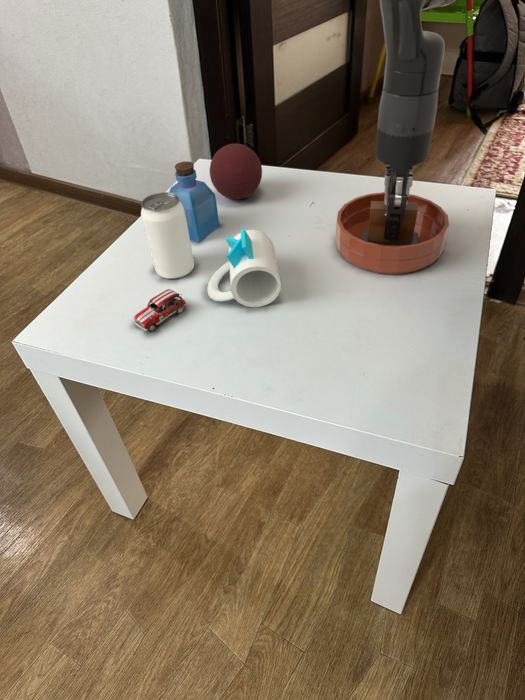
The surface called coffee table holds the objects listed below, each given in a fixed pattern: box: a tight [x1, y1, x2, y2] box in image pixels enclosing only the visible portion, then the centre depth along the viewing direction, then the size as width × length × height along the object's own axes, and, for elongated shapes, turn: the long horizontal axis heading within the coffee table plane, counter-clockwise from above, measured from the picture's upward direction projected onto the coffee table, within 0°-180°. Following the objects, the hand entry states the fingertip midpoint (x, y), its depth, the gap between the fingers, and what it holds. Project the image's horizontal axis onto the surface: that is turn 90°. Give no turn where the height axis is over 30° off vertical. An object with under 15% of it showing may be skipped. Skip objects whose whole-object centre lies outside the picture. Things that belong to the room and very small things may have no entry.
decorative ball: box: [209, 143, 263, 200], centre depth 94 cm, size 10×10×10 cm
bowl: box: [335, 191, 450, 275], centre depth 80 cm, size 17×17×5 cm
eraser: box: [361, 201, 419, 246], centre depth 79 cm, size 9×4×7 cm, turn 79°
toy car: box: [133, 288, 187, 333], centre depth 71 cm, size 4×8×3 cm, turn 136°
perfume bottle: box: [168, 160, 221, 243], centre depth 85 cm, size 6×6×12 cm
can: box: [140, 191, 195, 280], centre depth 77 cm, size 6×6×12 cm
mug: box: [206, 228, 282, 308], centre depth 75 cm, size 12×9×12 cm
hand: (390, 233), depth 80 cm, fingers closed on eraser, 2 cm apart
